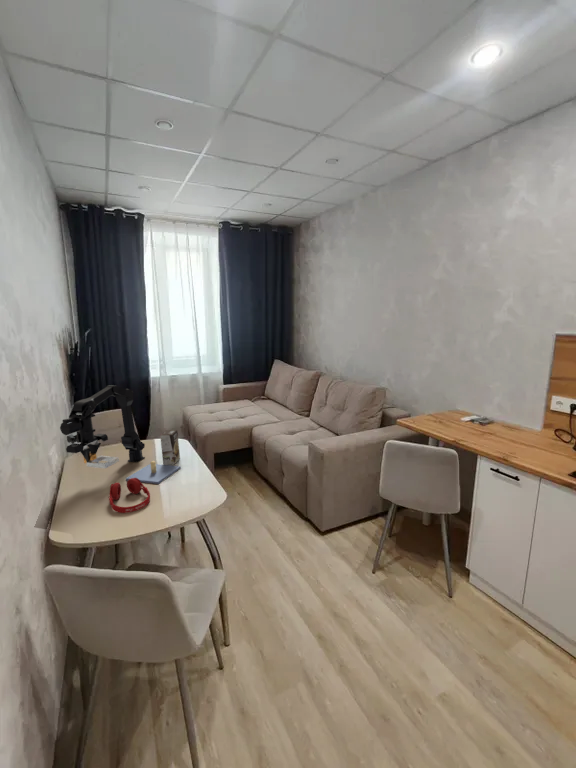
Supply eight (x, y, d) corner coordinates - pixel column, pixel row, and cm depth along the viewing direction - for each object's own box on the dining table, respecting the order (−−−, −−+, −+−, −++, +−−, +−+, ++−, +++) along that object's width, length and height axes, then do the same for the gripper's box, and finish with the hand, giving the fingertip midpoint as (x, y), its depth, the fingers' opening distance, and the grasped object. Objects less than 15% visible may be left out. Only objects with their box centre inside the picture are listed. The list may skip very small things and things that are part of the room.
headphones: (105, 497, 156) (116, 522, 140) (103, 482, 154) (114, 507, 138) (141, 486, 164) (155, 509, 149) (140, 472, 162) (154, 494, 147)
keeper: (150, 465, 189) (149, 453, 188) (180, 468, 184) (179, 455, 182) (126, 480, 172) (124, 467, 171) (158, 484, 167) (156, 470, 166)
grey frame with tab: (119, 461, 170) (118, 453, 169) (105, 468, 162) (104, 459, 162) (93, 458, 175) (92, 450, 174) (79, 465, 167) (77, 457, 166)
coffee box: (175, 464, 189) (172, 434, 186) (162, 465, 189) (159, 435, 186) (180, 458, 198) (177, 429, 195) (168, 458, 198) (165, 429, 195)
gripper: (88, 421, 178) (92, 452, 181) (54, 433, 161) (59, 466, 163) (106, 422, 175) (110, 453, 178) (73, 435, 157) (79, 469, 160)
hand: (90, 460), depth 170 cm, fingers closed on grey frame with tab, 2 cm apart
